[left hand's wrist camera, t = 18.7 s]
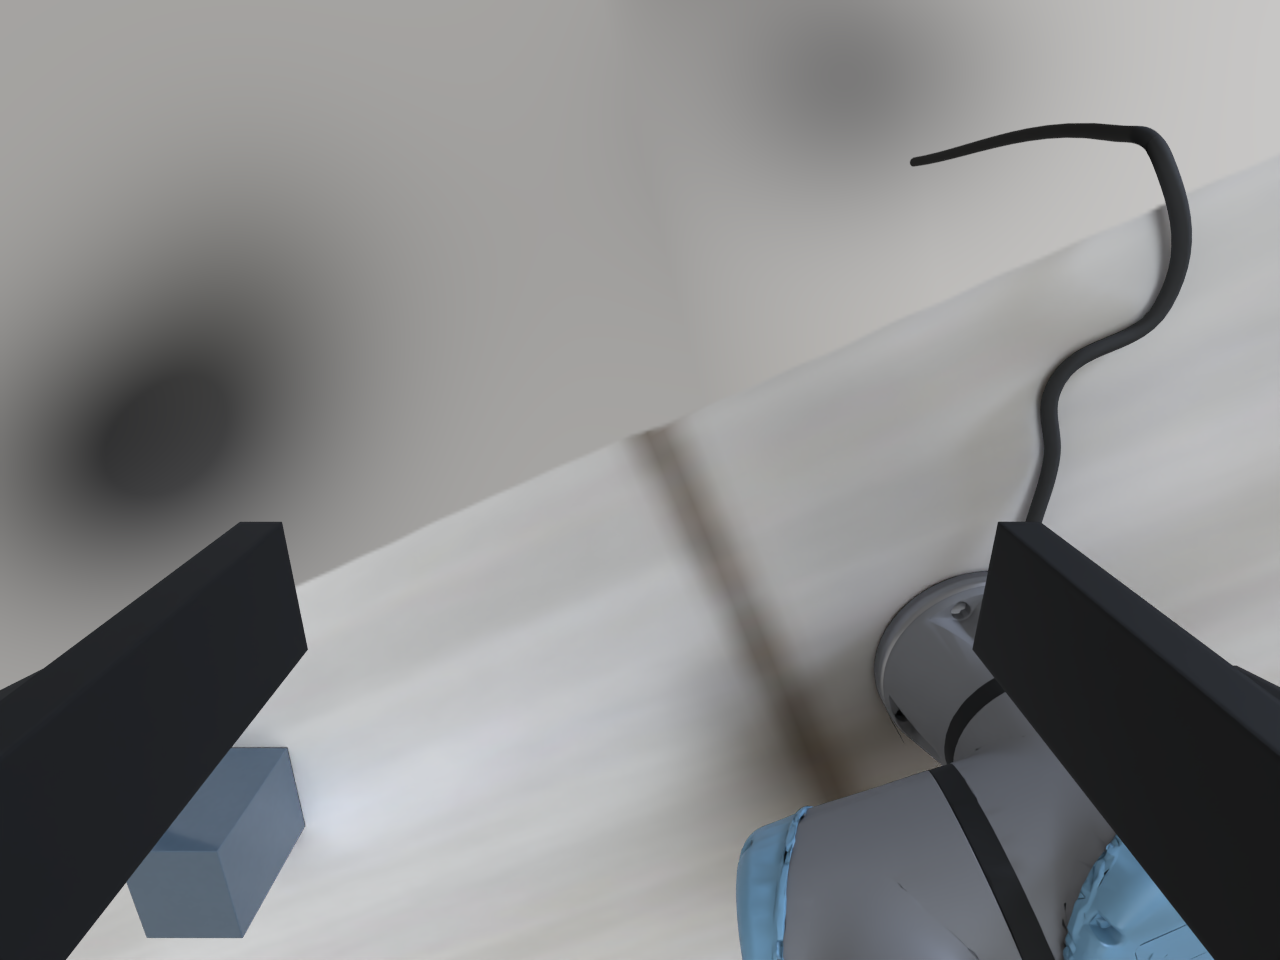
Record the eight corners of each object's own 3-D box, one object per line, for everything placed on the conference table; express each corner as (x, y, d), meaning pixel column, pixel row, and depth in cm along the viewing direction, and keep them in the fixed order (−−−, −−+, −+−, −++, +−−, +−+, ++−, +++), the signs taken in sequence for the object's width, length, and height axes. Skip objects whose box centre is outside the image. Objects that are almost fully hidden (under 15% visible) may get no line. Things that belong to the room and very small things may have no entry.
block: (224, 826, 58) (146, 938, 49) (201, 747, 55) (114, 851, 46) (305, 826, 58) (242, 938, 49) (287, 747, 55) (217, 851, 46)
